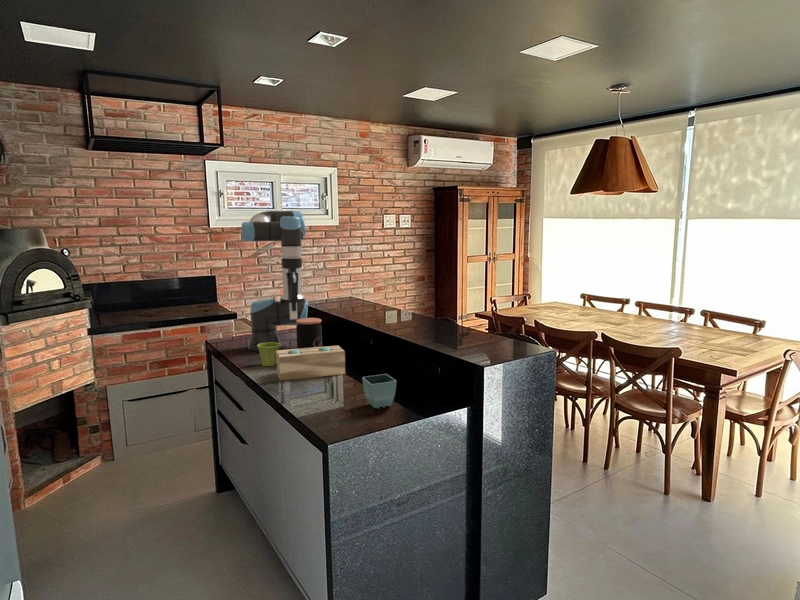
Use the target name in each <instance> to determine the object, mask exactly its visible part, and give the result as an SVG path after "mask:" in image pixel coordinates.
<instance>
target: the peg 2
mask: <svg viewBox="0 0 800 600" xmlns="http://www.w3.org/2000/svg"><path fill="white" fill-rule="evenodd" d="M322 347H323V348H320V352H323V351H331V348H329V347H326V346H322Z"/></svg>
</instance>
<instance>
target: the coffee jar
mask: <svg viewBox="0 0 800 600" xmlns="http://www.w3.org/2000/svg"><path fill="white" fill-rule="evenodd" d="M321 322H322V319H321V318H318V317H307V318H302V319H298V320H296V323H297V325H295V327H296V349H302V348H314V347H323V330H322V329H323V328H322V324H321Z"/></svg>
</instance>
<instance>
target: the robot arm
mask: <svg viewBox="0 0 800 600" xmlns="http://www.w3.org/2000/svg"><path fill="white" fill-rule="evenodd" d="M305 224H306V223H305V219H304V215H303V213H302V212H301V211H299V210H267V211H262V212H259V213H256V214H254V215H253V216H252V217H251V218H250V220H249V221H243V222H242V223H241V238H242V240H243V241H244V242H252V243H253V242H279V243H280V245H281V248H279V252H281V268H282V269H281V270H282V295H281V296H280V298H279V299H280V300H279V301H276V299H275V298H264V299H257V300H255V301H253V302H252V303H251V304H250V311H249V313H250V327H251V329H250V330H251V334H250V337H249V341H248V343H247V349H248V350H249V351H251V350H252V352H260V351H259V349H258V347H257V345H258V344H260V343H268V342H275V343H280V346H279V349H281V348H282V342H281V340H280V337H279V334H278V331H277V326H279V327H281V326H297V323H296V320H298V319H302V318H308V312H309V311H308V309H309V301H308V300H307V299H306V297H305V295H304V294H302V267H303V259H302V258H301V257H302V256H303V251H302V250H303V248H302V242H303V241H304V237H306V236H307V232H306V225H305Z"/></svg>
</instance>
